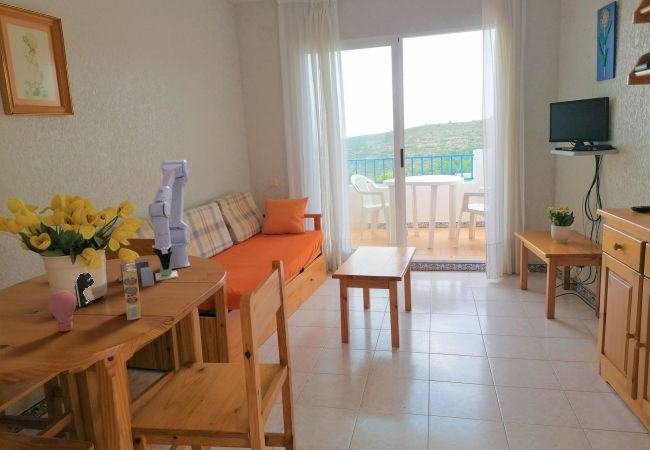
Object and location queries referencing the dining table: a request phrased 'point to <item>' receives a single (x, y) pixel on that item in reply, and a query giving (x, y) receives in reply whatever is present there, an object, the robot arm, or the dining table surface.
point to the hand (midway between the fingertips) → (165, 267)
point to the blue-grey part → (147, 276)
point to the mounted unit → (139, 264)
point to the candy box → (131, 291)
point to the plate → (166, 276)
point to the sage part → (165, 272)
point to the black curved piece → (83, 288)
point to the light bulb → (62, 308)
